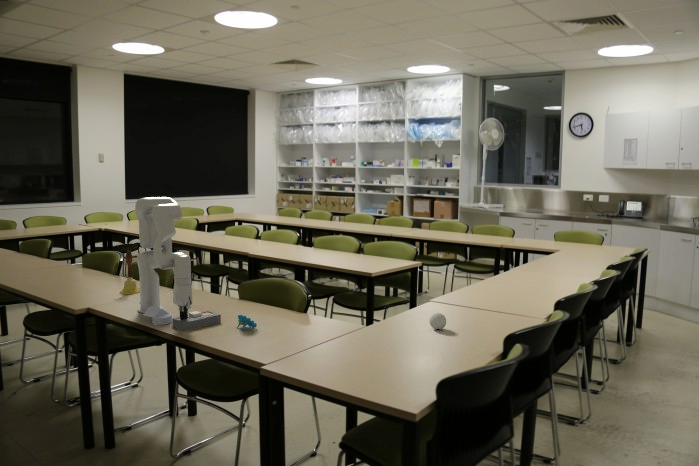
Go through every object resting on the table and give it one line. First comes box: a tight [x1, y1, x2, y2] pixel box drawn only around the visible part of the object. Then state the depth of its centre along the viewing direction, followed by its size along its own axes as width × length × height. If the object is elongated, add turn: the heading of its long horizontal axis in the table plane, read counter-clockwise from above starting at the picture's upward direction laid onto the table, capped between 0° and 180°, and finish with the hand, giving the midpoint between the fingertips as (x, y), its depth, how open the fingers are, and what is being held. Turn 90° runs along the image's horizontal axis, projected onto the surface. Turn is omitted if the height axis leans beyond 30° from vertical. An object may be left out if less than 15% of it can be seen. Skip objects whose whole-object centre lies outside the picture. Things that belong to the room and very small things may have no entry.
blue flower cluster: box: [236, 314, 258, 331], centre depth 254 cm, size 11×6×10 cm
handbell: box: [119, 250, 140, 295], centre depth 324 cm, size 12×12×25 cm
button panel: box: [172, 310, 222, 332], centre depth 261 cm, size 10×20×4 cm, turn 138°
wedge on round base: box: [142, 307, 173, 326], centre depth 266 cm, size 9×7×13 cm
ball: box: [429, 312, 447, 330], centre depth 258 cm, size 8×8×8 cm
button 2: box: [188, 310, 202, 318], centre depth 262 cm, size 4×4×3 cm
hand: (183, 319), depth 257 cm, fingers closed
